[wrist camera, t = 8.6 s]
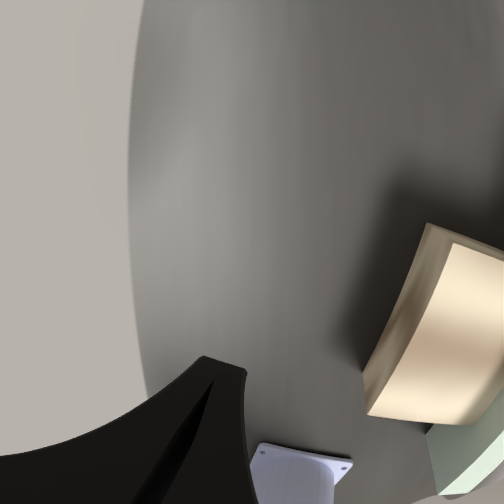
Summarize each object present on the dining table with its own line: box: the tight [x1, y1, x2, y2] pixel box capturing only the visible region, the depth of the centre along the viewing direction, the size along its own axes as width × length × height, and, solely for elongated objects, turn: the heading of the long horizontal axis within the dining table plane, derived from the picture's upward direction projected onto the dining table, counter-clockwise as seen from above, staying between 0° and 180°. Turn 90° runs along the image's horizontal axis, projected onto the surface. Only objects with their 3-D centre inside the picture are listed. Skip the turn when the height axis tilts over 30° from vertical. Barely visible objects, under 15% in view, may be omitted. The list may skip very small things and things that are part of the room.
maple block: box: [362, 222, 504, 426], centre depth 14 cm, size 10×8×4 cm
